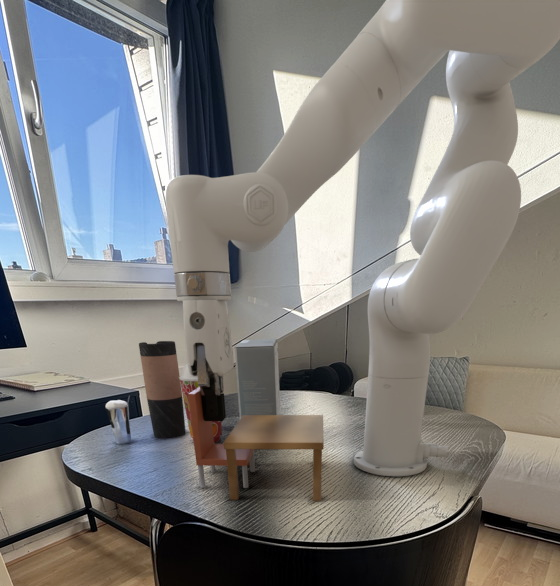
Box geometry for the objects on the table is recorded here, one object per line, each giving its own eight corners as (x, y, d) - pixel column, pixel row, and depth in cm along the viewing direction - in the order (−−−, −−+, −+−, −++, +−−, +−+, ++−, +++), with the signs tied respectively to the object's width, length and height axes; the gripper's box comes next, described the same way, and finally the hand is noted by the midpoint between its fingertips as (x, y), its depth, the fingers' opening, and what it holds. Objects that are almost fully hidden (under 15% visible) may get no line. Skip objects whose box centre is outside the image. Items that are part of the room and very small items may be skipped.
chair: (255, 470, 72) (251, 384, 66) (248, 488, 65) (242, 393, 58) (211, 469, 72) (202, 384, 66) (199, 487, 65) (187, 394, 59)
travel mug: (178, 439, 91) (165, 343, 82) (146, 438, 92) (131, 344, 84) (191, 430, 97) (181, 340, 89) (162, 429, 99) (149, 341, 90)
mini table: (322, 464, 74) (323, 414, 71) (322, 501, 60) (323, 442, 56) (246, 463, 76) (242, 415, 72) (228, 500, 61) (223, 442, 57)
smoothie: (194, 435, 94) (183, 342, 85) (230, 435, 92) (222, 341, 84) (181, 446, 86) (168, 345, 78) (220, 447, 85) (211, 344, 77)
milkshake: (134, 444, 88) (125, 398, 84) (109, 445, 88) (99, 398, 84) (141, 438, 92) (133, 393, 88) (117, 439, 92) (108, 394, 88)
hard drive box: (248, 429, 97) (243, 339, 89) (281, 428, 97) (278, 338, 89) (240, 449, 83) (233, 345, 75) (278, 449, 83) (275, 344, 74)
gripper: (218, 286, 50) (228, 433, 57) (239, 290, 63) (246, 409, 71) (158, 287, 50) (176, 433, 58) (192, 291, 64) (203, 409, 71)
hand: (214, 419), depth 64 cm, fingers closed
